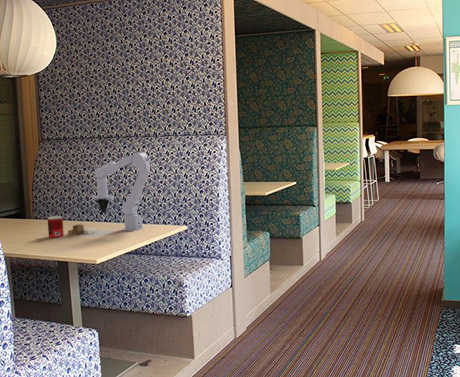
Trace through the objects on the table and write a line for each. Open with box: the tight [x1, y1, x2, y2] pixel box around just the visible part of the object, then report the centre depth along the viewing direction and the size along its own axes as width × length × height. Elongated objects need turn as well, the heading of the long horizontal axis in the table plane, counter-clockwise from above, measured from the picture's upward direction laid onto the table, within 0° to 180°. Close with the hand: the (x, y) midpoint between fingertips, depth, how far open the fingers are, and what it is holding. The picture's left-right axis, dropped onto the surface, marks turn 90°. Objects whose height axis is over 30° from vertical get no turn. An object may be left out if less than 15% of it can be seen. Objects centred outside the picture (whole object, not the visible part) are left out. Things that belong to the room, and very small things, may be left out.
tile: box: [84, 227, 98, 234], centre depth 344 cm, size 2×7×7 cm
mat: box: [74, 229, 116, 238], centre depth 342 cm, size 20×17×1 cm
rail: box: [67, 228, 74, 236], centre depth 342 cm, size 2×7×2 cm, turn 152°
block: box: [72, 223, 85, 236], centre depth 340 cm, size 4×4×5 cm
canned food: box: [47, 215, 65, 239], centre depth 335 cm, size 8×8×11 cm
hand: (103, 212), depth 354 cm, fingers closed
